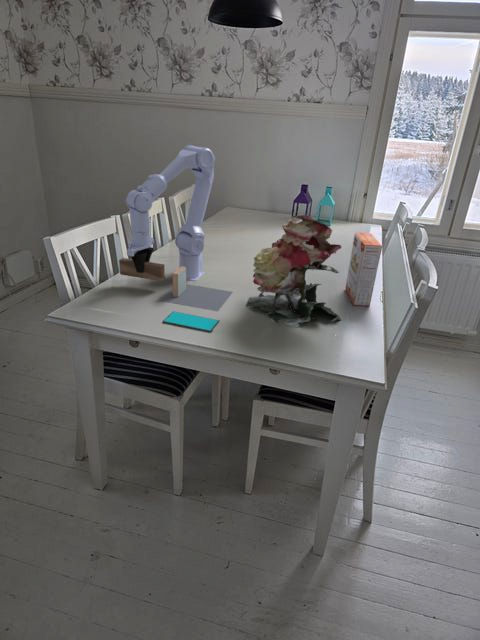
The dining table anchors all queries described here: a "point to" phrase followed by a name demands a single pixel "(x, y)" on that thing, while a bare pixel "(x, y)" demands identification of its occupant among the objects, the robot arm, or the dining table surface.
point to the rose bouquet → (292, 272)
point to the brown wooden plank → (150, 270)
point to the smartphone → (191, 321)
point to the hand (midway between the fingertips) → (142, 270)
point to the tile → (179, 281)
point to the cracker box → (363, 268)
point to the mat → (198, 297)
